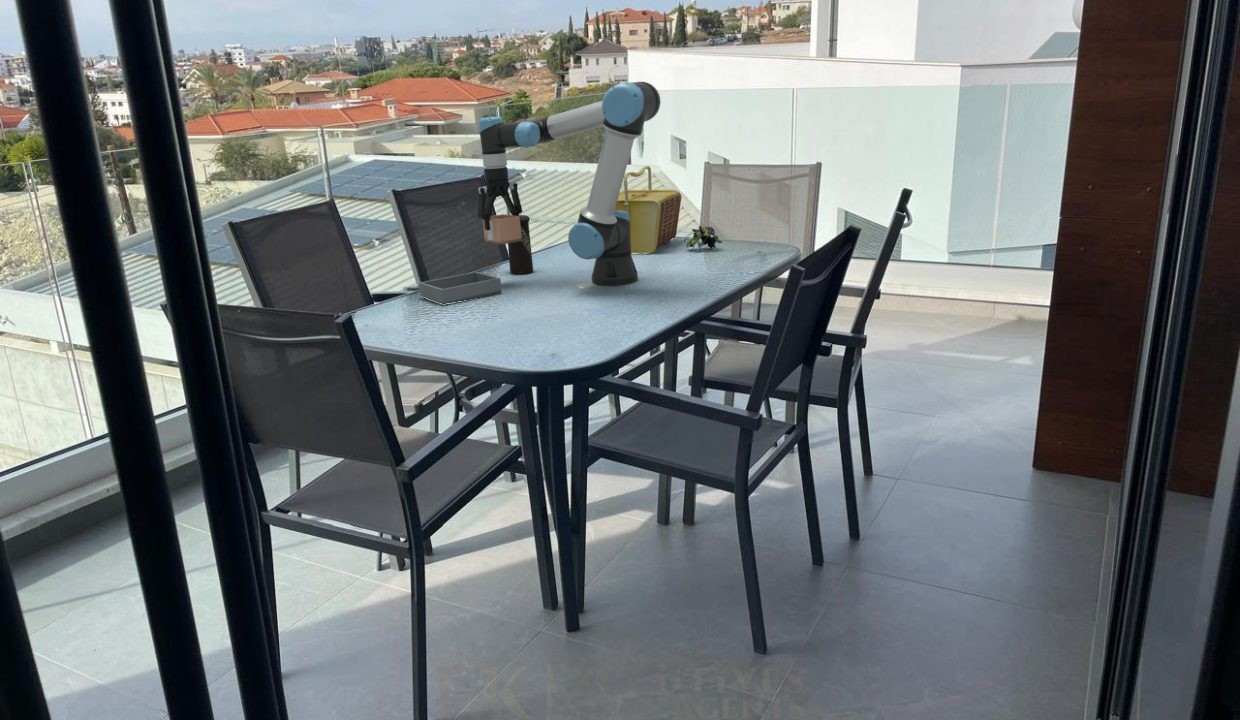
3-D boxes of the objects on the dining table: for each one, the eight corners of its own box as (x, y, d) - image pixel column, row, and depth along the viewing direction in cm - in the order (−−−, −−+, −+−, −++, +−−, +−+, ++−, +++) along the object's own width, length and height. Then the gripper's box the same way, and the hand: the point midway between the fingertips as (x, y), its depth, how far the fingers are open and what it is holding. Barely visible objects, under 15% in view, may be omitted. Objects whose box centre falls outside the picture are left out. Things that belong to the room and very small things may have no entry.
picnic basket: (661, 256, 335) (658, 173, 326) (596, 254, 344) (591, 174, 335) (684, 241, 361) (681, 164, 352) (623, 240, 370) (619, 165, 361)
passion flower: (710, 263, 344) (728, 238, 338) (695, 263, 335) (713, 237, 330) (690, 244, 348) (708, 219, 343) (675, 244, 339) (693, 218, 334)
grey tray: (501, 293, 290) (500, 278, 289) (443, 305, 279) (441, 289, 277) (477, 286, 302) (476, 271, 301) (420, 298, 291) (418, 282, 289)
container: (522, 276, 314) (517, 218, 308) (503, 273, 320) (498, 216, 314) (539, 271, 321) (534, 214, 315) (520, 268, 326) (515, 213, 320)
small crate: (521, 240, 296) (519, 216, 294) (500, 244, 292) (497, 219, 289) (506, 238, 304) (503, 214, 302) (485, 241, 299) (482, 217, 297)
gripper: (517, 163, 300) (523, 232, 306) (460, 170, 288) (469, 241, 294) (529, 163, 294) (536, 234, 301) (472, 171, 282) (480, 244, 289)
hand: (502, 237), depth 297 cm, fingers closed on small crate, 8 cm apart
